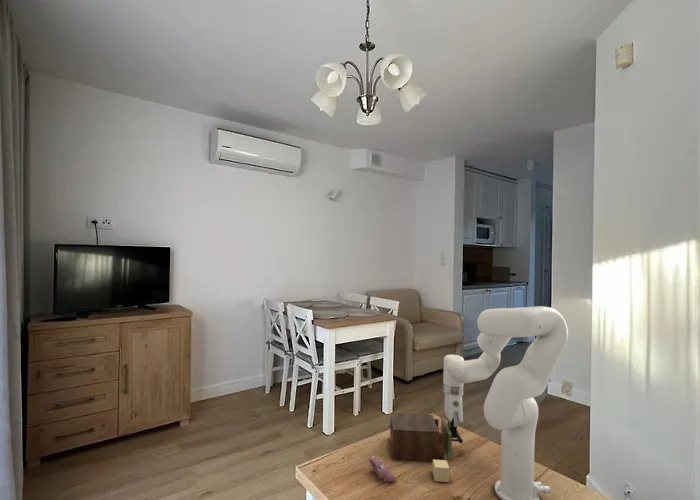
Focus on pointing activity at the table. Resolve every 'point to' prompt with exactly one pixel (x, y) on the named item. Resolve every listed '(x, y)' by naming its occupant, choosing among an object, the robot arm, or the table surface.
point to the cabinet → (414, 437)
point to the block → (440, 470)
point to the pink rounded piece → (380, 469)
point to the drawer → (446, 439)
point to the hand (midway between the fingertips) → (451, 436)
